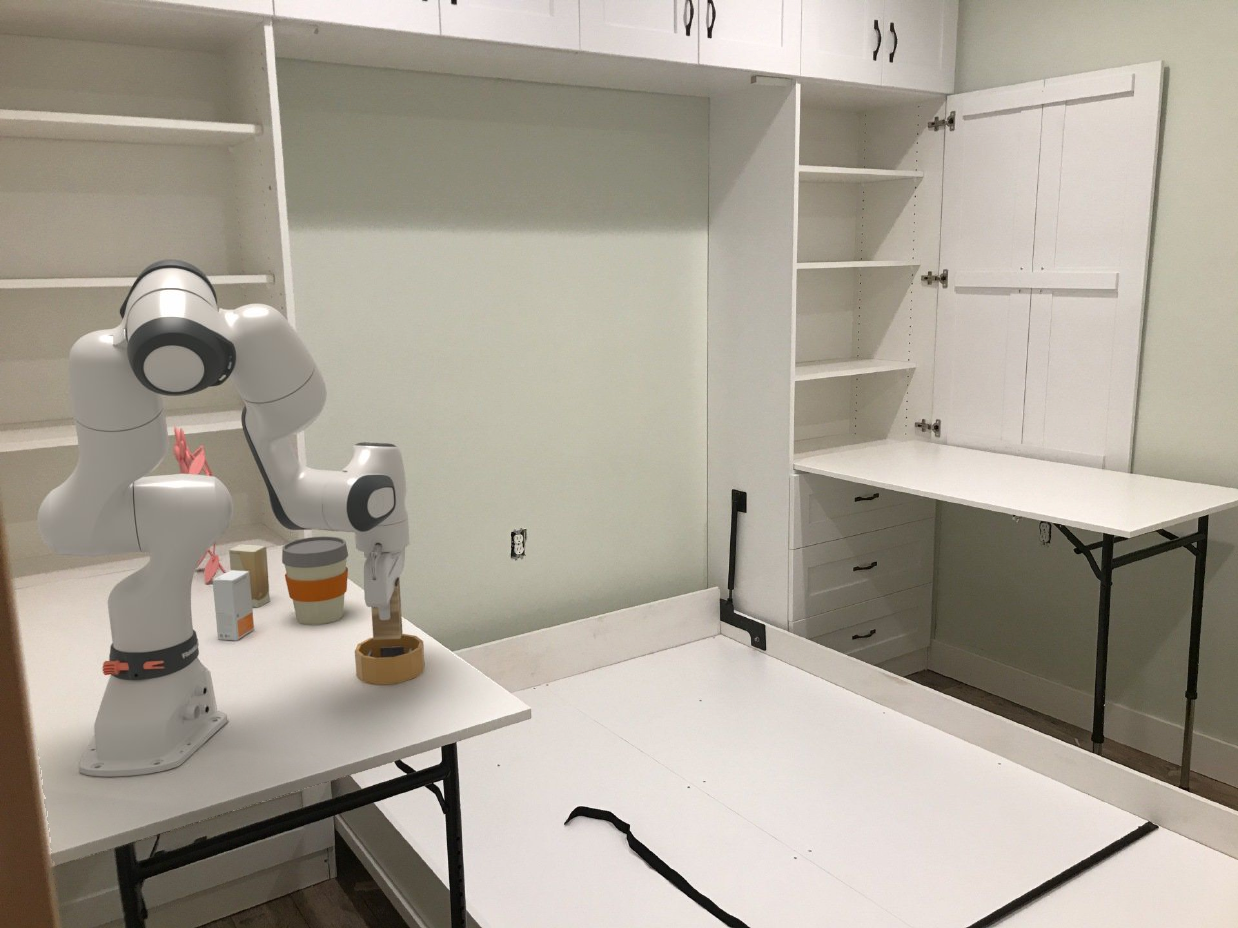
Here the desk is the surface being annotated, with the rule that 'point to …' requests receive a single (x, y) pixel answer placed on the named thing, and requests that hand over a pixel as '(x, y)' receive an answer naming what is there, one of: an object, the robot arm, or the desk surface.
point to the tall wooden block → (394, 624)
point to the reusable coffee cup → (316, 578)
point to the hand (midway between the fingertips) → (387, 613)
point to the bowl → (389, 660)
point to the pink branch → (197, 465)
